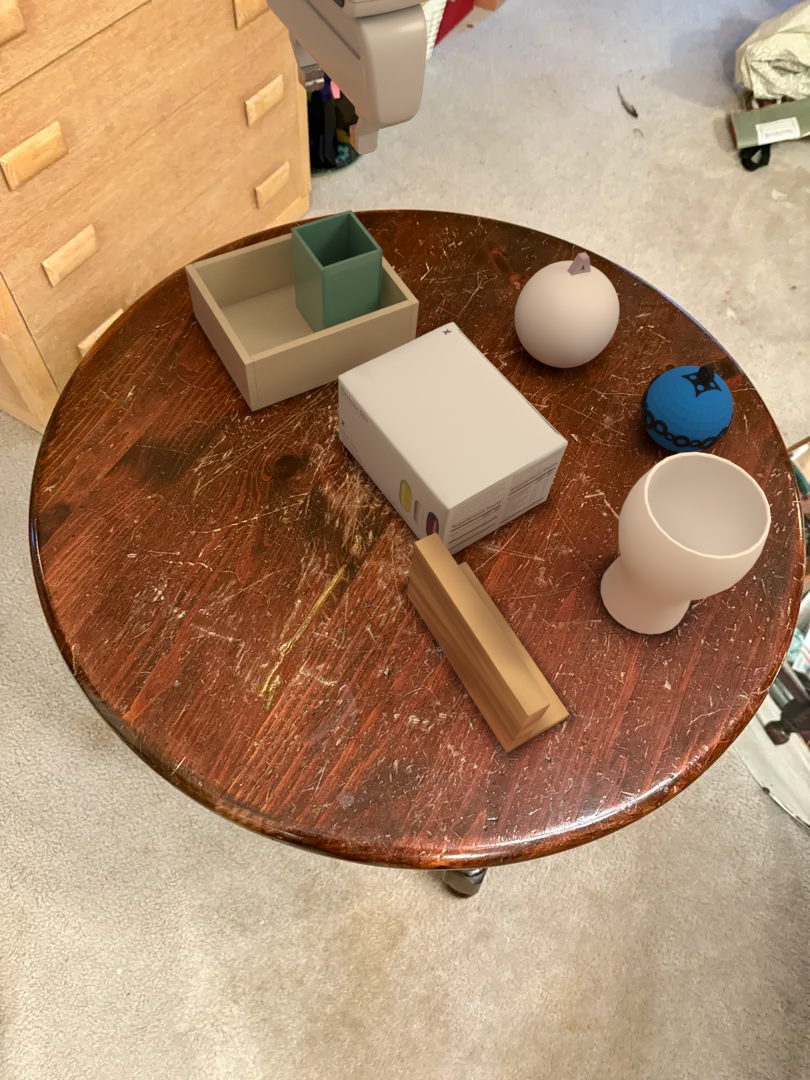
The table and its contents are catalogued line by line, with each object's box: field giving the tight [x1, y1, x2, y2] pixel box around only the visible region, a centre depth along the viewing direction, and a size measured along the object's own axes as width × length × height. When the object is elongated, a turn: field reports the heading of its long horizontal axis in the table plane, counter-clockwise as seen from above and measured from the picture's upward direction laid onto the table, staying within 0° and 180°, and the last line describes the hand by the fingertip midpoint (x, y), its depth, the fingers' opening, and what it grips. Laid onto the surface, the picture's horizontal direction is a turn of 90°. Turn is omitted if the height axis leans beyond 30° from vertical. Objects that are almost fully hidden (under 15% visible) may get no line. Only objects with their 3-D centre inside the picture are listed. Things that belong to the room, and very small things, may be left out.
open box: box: [184, 232, 420, 412], centre depth 84 cm, size 19×15×7 cm
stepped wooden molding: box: [406, 533, 570, 753], centre depth 65 cm, size 6×16×9 cm, turn 30°
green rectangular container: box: [290, 209, 384, 333], centre depth 83 cm, size 12×7×12 cm
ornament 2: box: [640, 364, 734, 453], centre depth 78 cm, size 9×9×10 cm
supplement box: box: [337, 321, 569, 556], centre depth 75 cm, size 17×13×9 cm
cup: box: [600, 451, 772, 635], centre depth 67 cm, size 11×11×15 cm
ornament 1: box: [514, 251, 620, 369], centre depth 83 cm, size 10×10×12 cm
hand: (336, 116), depth 68 cm, fingers open, 8 cm apart
